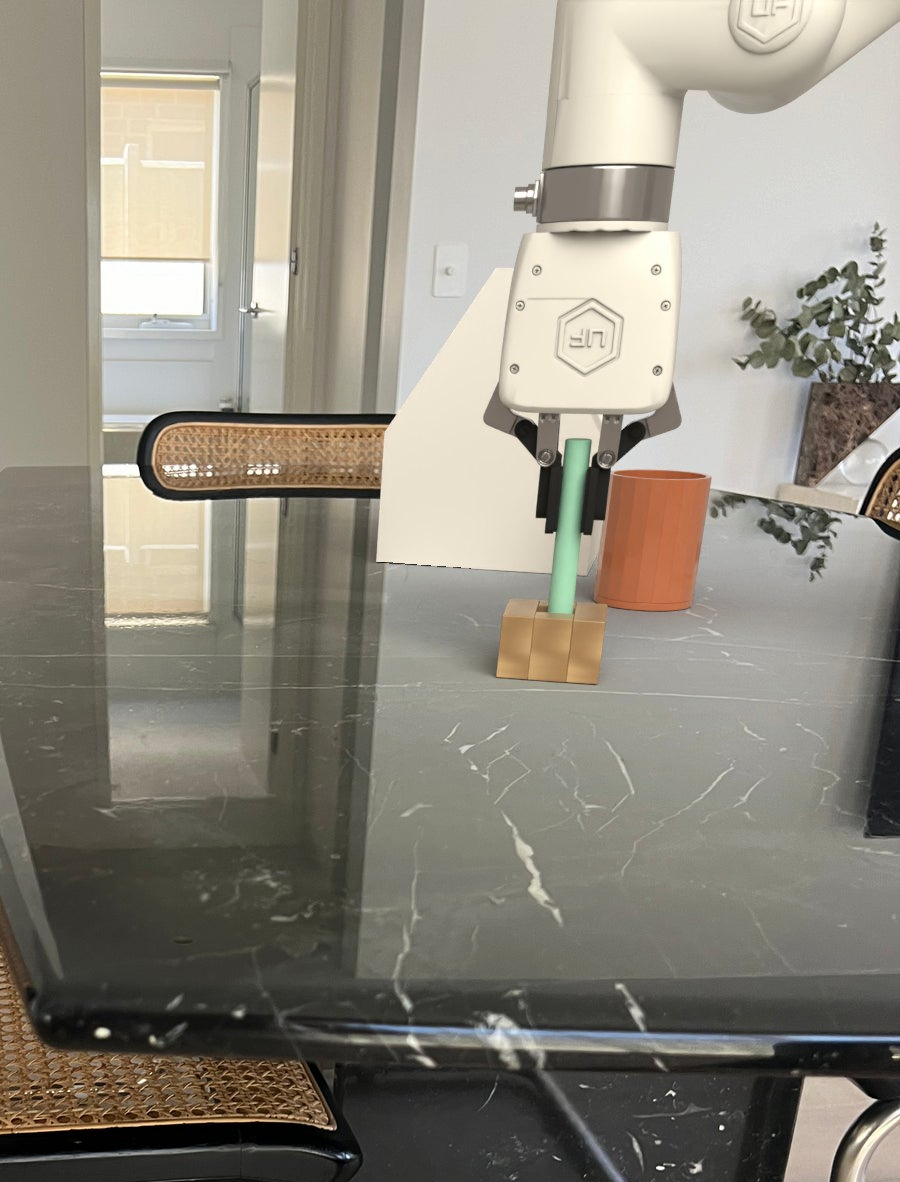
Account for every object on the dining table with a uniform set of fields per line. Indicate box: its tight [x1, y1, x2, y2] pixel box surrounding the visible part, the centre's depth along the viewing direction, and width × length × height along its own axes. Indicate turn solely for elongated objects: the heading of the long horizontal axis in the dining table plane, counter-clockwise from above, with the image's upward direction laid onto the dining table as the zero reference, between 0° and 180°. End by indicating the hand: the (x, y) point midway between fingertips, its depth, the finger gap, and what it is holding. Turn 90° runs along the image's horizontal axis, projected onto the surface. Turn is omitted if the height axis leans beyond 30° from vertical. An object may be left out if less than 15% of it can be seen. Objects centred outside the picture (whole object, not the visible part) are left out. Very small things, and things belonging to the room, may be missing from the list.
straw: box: [548, 438, 592, 614], centre depth 94 cm, size 2×2×14 cm
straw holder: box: [495, 597, 608, 685], centre depth 96 cm, size 6×6×4 cm
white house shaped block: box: [375, 267, 603, 577], centre depth 136 cm, size 19×15×25 cm
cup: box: [592, 468, 713, 612], centre depth 118 cm, size 8×8×10 cm
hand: (569, 529), depth 93 cm, fingers closed on straw, 1 cm apart
